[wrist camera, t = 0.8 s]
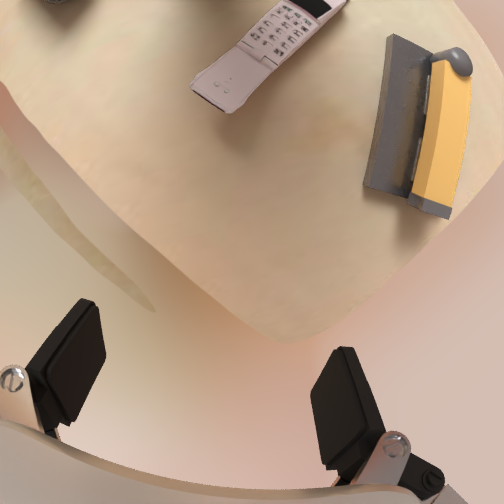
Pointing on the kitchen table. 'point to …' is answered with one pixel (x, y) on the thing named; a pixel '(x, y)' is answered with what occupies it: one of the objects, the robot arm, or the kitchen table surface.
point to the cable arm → (443, 133)
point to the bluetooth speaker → (55, 1)
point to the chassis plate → (400, 118)
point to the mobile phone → (262, 51)
